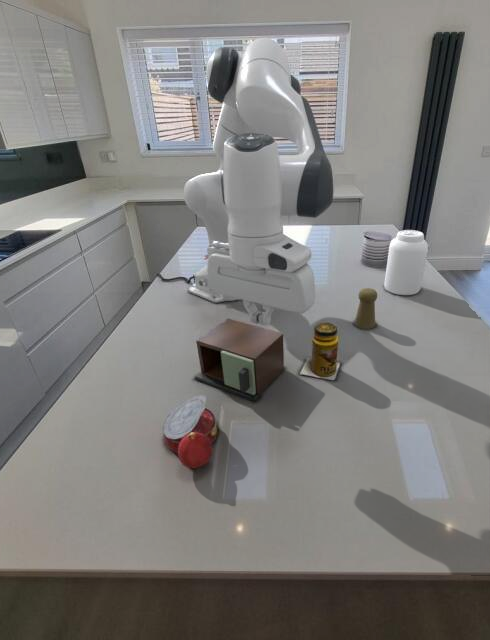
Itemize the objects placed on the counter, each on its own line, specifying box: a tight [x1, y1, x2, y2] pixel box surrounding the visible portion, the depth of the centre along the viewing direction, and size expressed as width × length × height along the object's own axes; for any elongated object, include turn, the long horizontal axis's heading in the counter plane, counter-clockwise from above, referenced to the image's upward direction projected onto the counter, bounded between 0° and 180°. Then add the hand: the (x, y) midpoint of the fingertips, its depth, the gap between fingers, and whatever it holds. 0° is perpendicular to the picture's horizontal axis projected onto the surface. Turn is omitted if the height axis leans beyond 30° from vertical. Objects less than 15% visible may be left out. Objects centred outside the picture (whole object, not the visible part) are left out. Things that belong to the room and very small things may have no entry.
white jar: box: [383, 229, 429, 296], centre depth 127 cm, size 12×12×20 cm
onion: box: [177, 432, 213, 469], centre depth 65 cm, size 6×6×8 cm
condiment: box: [299, 322, 341, 381], centre depth 88 cm, size 7×8×12 cm
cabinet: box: [194, 318, 285, 402], centre depth 87 cm, size 17×14×10 cm
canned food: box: [162, 394, 218, 454], centre depth 71 cm, size 11×10×10 cm
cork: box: [354, 287, 378, 330], centre depth 108 cm, size 6×6×11 cm
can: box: [361, 230, 394, 268], centre depth 153 cm, size 11×11×12 cm
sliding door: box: [221, 351, 256, 395], centre depth 80 cm, size 8×3×9 cm, turn 61°
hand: (260, 322), depth 68 cm, fingers closed
